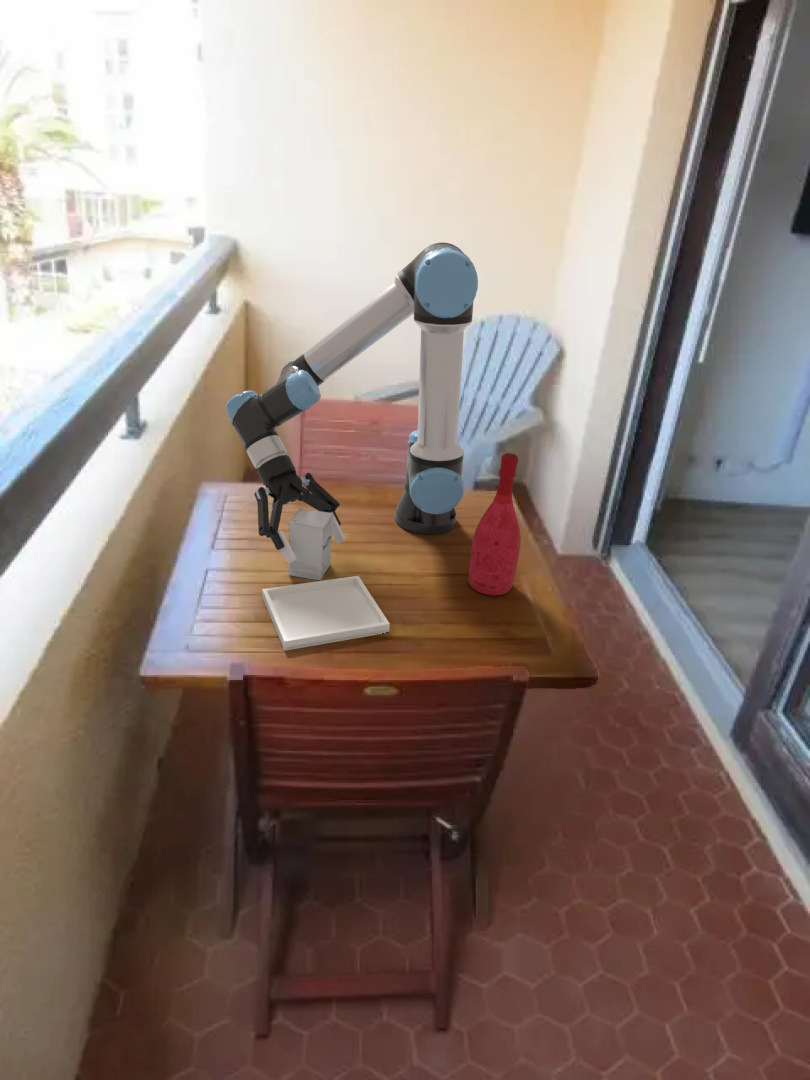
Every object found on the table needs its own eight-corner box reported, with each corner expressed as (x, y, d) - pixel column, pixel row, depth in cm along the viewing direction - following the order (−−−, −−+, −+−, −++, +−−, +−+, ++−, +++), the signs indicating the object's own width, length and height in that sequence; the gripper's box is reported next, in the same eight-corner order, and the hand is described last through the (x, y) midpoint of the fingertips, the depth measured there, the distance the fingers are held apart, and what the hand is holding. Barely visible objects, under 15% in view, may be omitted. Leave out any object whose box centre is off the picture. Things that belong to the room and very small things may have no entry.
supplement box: (321, 581, 149) (323, 527, 143) (287, 575, 150) (287, 521, 144) (331, 564, 156) (333, 512, 150) (299, 559, 157) (299, 506, 151)
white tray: (357, 583, 149) (358, 575, 148) (389, 632, 135) (389, 623, 134) (262, 597, 142) (262, 589, 141) (284, 650, 127) (284, 641, 127)
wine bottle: (516, 580, 156) (539, 451, 142) (507, 602, 148) (530, 467, 134) (473, 570, 158) (491, 441, 144) (461, 591, 150) (479, 457, 136)
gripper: (308, 457, 162) (351, 540, 160) (214, 484, 145) (261, 577, 143) (325, 441, 156) (370, 527, 155) (229, 467, 139) (278, 564, 138)
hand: (317, 551), depth 149 cm, fingers open, 13 cm apart
